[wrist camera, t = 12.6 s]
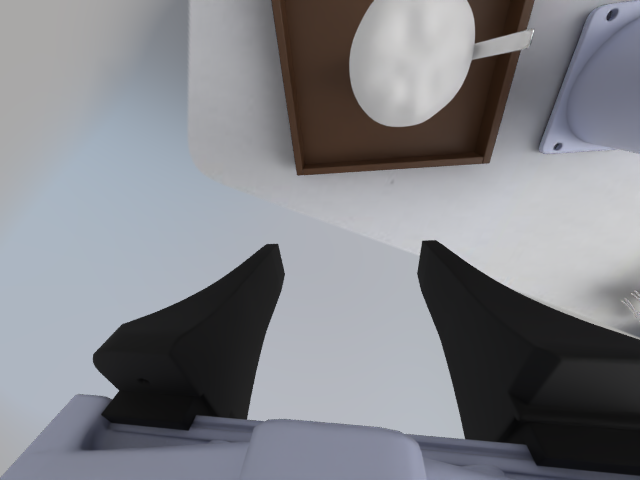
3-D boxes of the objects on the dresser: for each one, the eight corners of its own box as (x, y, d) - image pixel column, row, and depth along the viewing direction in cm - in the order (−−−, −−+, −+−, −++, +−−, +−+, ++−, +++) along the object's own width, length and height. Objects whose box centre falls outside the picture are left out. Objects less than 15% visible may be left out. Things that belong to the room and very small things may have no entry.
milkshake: (427, 107, 16) (508, 124, 8) (350, 116, 17) (351, 139, 9) (437, 21, 14) (566, -83, 6) (348, 36, 15) (345, -37, 6)
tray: (536, -85, 12) (566, -114, 10) (476, 156, 18) (489, 163, 17) (273, -34, 14) (263, -51, 12) (301, 168, 20) (297, 175, 19)
